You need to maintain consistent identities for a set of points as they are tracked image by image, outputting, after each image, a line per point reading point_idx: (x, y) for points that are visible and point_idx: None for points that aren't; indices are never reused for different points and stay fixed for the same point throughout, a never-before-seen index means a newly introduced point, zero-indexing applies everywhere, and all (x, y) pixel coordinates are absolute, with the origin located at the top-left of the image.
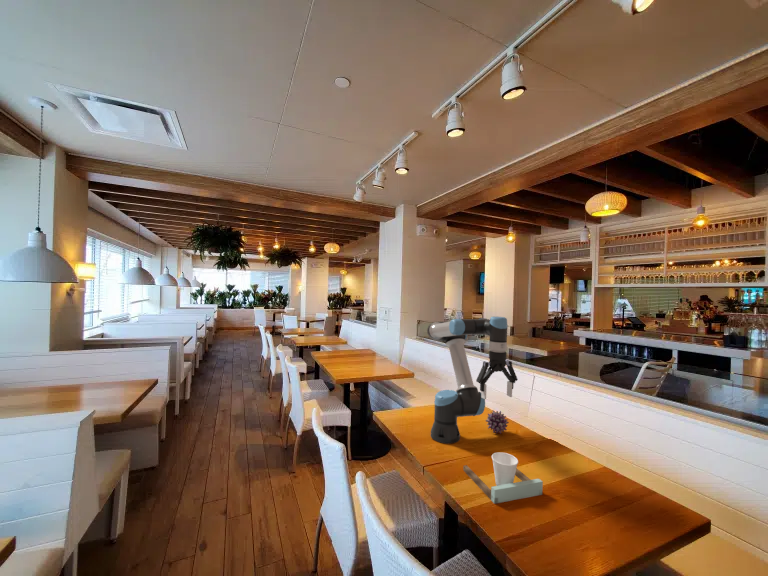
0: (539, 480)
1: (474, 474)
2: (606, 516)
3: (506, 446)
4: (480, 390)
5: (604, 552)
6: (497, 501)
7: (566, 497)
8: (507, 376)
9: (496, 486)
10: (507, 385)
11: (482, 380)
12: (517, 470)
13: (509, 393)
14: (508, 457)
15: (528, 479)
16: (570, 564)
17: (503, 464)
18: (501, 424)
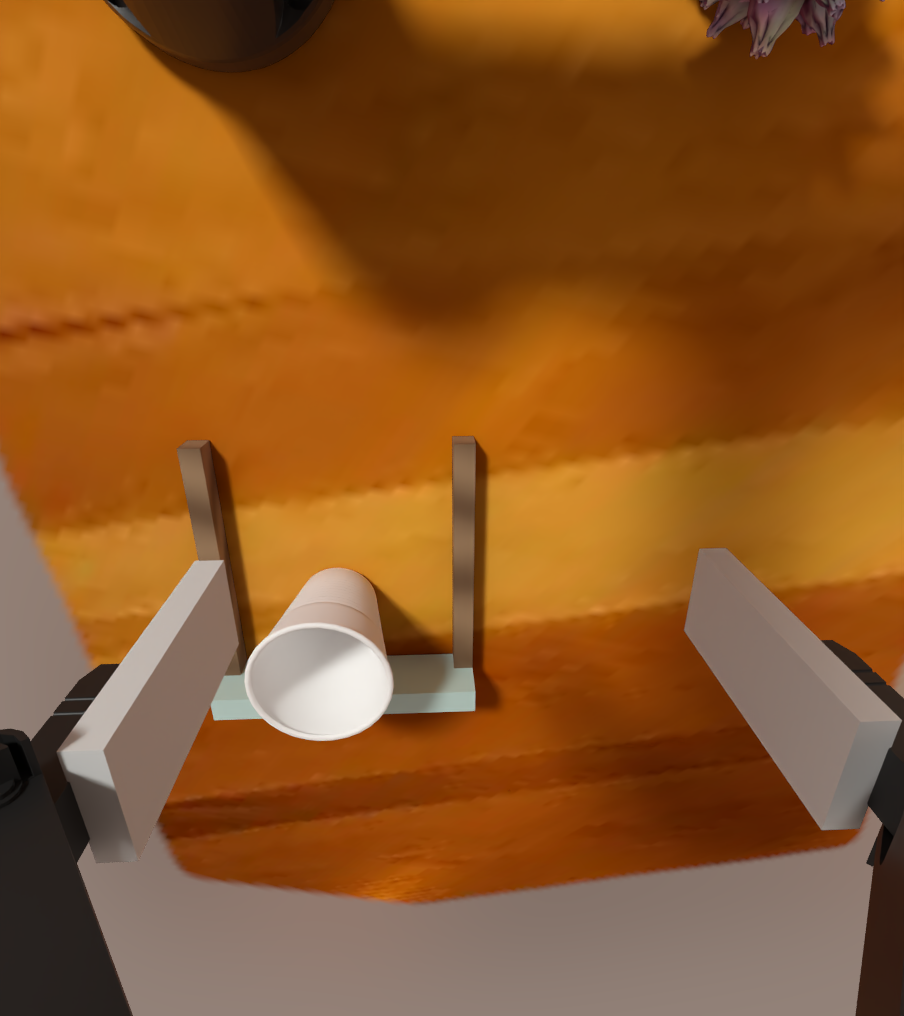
0: (466, 703)
1: (208, 537)
2: (597, 788)
3: (636, 235)
4: (99, 669)
5: (448, 873)
6: None
7: (553, 699)
8: (868, 973)
9: (234, 703)
10: (794, 666)
11: (17, 854)
12: (464, 552)
13: (710, 636)
14: (374, 640)
15: (463, 622)
16: (323, 883)
17: (277, 728)
18: (776, 28)
